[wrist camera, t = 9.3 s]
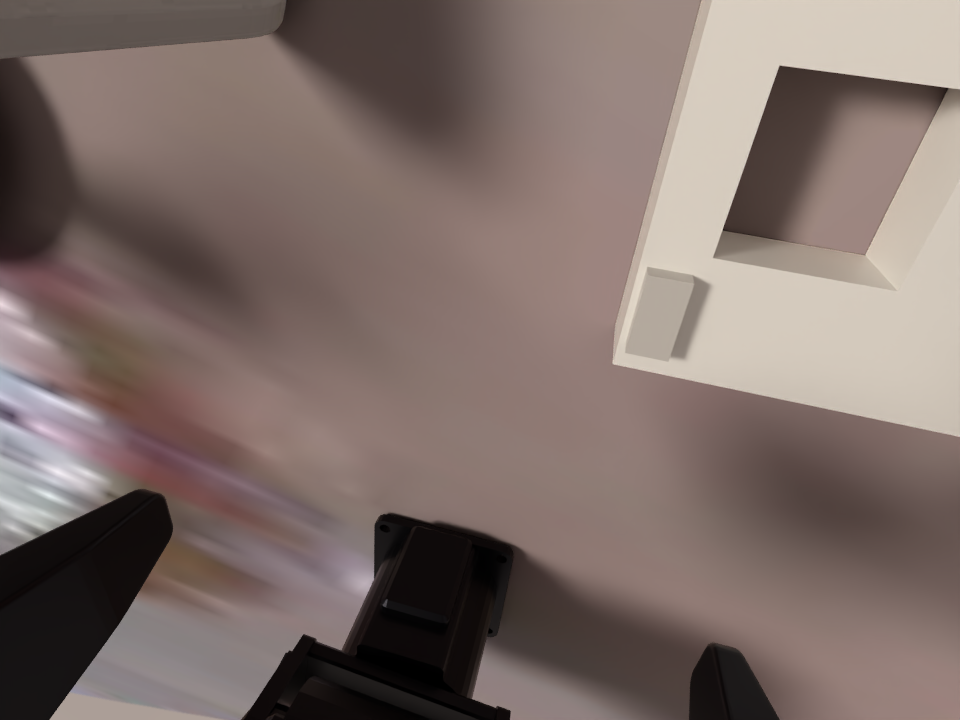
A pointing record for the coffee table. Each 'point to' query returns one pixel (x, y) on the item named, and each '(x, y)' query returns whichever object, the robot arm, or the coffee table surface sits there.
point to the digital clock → (128, 23)
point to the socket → (796, 267)
